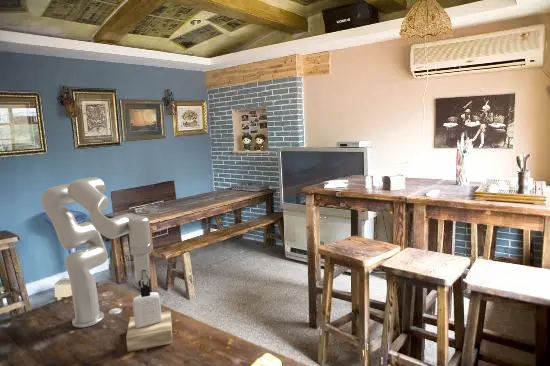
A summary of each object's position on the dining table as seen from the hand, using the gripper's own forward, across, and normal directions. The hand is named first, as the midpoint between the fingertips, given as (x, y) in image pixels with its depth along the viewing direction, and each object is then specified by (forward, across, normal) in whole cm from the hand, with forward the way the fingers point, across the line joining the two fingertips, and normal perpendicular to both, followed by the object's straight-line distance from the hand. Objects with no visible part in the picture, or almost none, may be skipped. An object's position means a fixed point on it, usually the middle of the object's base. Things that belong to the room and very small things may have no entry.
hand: (144, 290), depth 149 cm
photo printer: (+14, +1, +1) cm, 14 cm away
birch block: (+20, +1, +1) cm, 20 cm away
